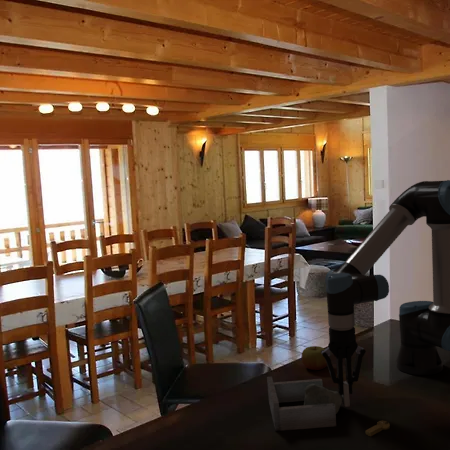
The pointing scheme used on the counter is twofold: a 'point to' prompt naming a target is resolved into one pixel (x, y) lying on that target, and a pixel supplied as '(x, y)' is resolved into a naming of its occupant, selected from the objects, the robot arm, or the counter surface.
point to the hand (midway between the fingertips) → (346, 404)
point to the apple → (313, 358)
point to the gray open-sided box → (298, 414)
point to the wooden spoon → (378, 428)
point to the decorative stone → (322, 396)
